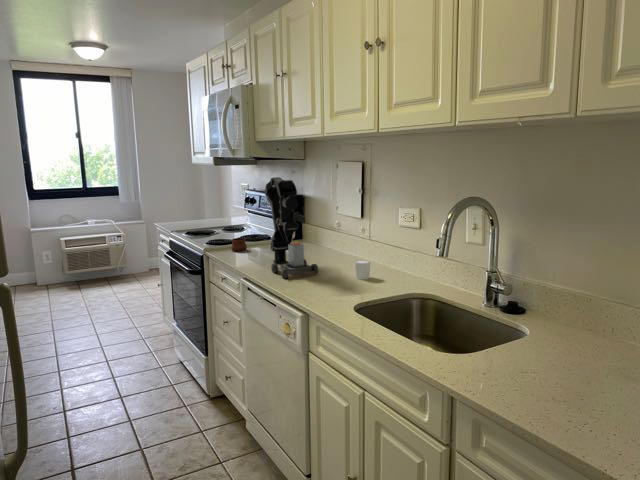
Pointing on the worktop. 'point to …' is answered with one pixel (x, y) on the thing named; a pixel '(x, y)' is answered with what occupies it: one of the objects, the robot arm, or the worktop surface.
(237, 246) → the ceramic pot
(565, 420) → the worktop surface
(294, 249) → the engine block
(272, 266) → the chassis
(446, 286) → the worktop surface
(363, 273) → the shot glass
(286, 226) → the robot arm
